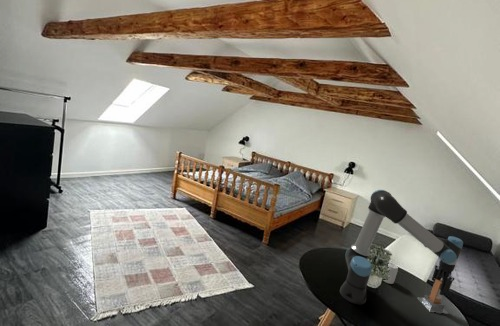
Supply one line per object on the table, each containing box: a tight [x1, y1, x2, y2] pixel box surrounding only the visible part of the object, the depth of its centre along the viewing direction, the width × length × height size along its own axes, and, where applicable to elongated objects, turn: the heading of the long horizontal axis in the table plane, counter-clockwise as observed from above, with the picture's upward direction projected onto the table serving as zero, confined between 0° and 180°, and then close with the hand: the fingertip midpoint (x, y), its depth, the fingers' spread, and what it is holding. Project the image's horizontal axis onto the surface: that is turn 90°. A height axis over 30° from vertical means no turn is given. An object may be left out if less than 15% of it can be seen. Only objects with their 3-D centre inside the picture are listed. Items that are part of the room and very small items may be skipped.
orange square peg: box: [429, 279, 442, 303], centre depth 172 cm, size 4×4×14 cm
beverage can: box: [382, 262, 399, 285], centre depth 192 cm, size 8×8×12 cm
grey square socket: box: [416, 294, 449, 315], centre depth 173 cm, size 12×12×4 cm
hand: (435, 295), depth 172 cm, fingers closed on orange square peg, 4 cm apart
